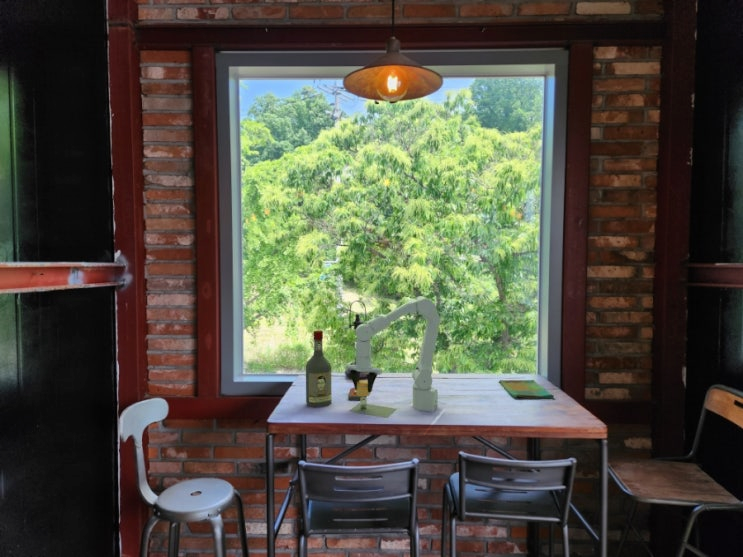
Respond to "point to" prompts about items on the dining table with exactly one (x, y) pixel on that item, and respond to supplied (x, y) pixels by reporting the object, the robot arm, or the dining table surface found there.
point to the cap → (362, 388)
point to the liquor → (318, 376)
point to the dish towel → (525, 389)
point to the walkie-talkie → (354, 395)
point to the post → (363, 403)
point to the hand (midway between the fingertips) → (363, 390)
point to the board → (374, 410)
